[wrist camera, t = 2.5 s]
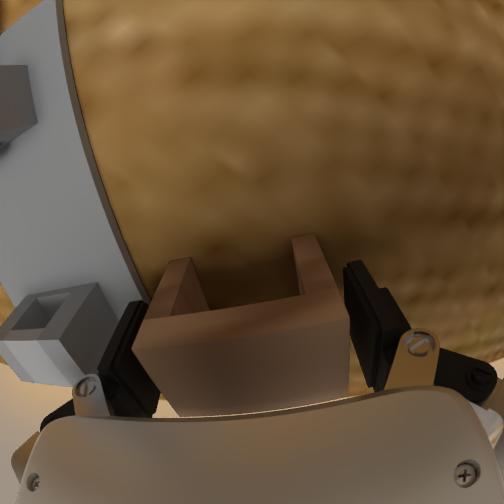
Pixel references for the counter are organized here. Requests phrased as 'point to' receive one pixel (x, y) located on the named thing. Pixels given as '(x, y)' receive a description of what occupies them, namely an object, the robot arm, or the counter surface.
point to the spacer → (247, 343)
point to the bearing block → (54, 214)
